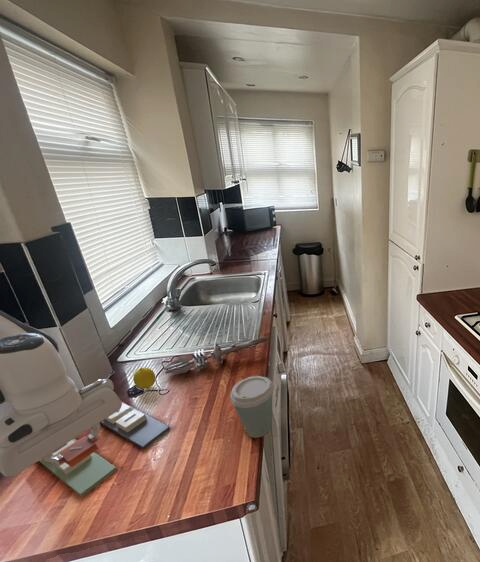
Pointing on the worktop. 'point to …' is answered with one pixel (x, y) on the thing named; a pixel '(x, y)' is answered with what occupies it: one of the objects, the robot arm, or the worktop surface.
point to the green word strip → (81, 471)
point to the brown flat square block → (78, 451)
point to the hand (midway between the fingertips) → (78, 451)
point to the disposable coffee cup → (254, 404)
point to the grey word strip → (141, 431)
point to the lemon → (144, 378)
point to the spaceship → (184, 364)
